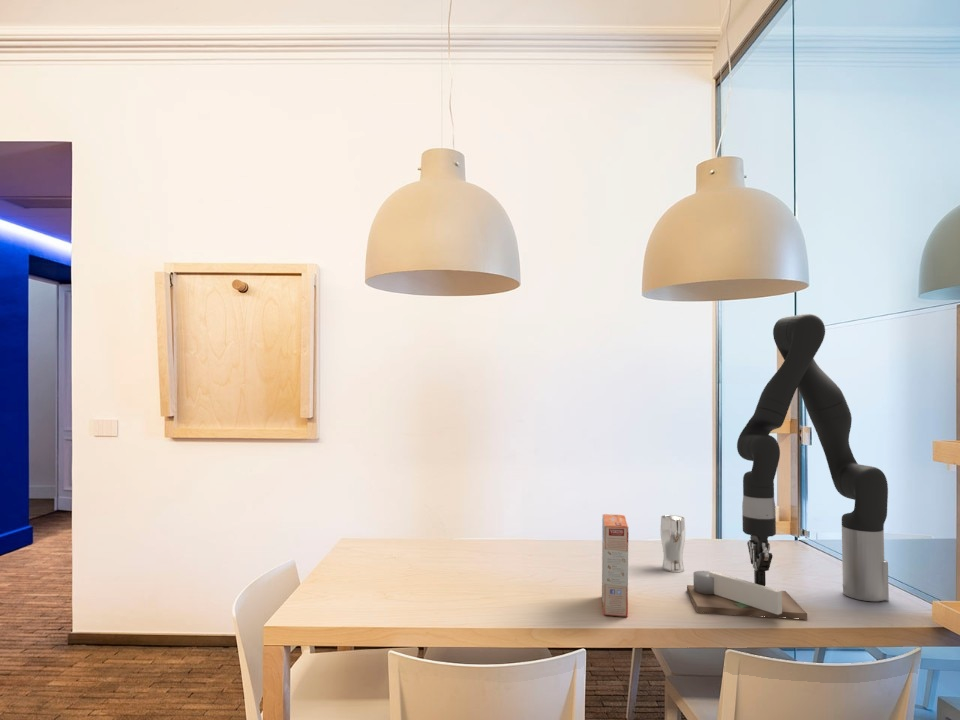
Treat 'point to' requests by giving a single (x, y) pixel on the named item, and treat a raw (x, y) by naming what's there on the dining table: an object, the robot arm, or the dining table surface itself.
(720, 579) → the lever handle
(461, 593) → the dining table surface
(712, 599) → the brown wooden board
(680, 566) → the beer glass
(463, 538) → the dining table surface
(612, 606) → the cracker box
